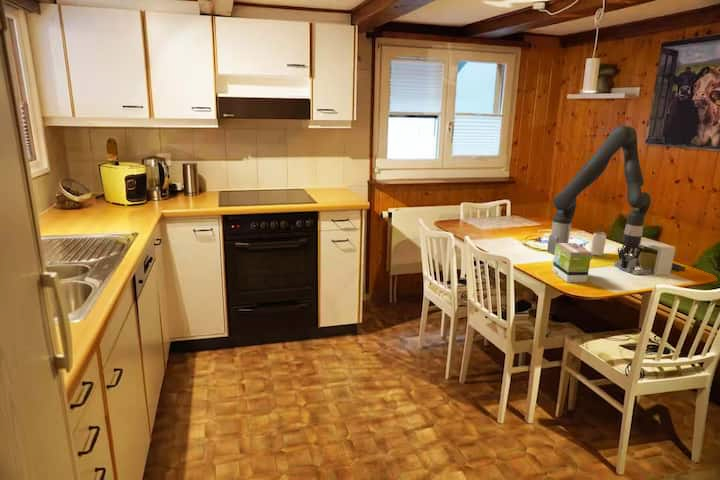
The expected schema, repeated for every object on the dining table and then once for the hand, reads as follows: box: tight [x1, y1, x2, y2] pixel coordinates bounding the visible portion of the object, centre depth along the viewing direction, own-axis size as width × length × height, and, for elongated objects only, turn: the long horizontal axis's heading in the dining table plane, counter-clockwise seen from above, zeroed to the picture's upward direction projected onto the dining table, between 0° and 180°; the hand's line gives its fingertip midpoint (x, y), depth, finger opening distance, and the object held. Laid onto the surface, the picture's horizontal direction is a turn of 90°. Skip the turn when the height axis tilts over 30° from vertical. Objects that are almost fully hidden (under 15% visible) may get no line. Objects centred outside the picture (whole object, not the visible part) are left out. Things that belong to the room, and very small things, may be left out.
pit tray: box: [671, 262, 686, 272], centre depth 248 cm, size 5×14×2 cm, turn 19°
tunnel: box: [636, 236, 676, 276], centre depth 242 cm, size 9×18×14 cm, turn 19°
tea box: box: [551, 242, 592, 284], centre depth 226 cm, size 15×10×15 cm
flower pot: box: [638, 248, 658, 269], centre depth 243 cm, size 9×9×9 cm
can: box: [589, 231, 607, 257], centre depth 264 cm, size 6×6×12 cm
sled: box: [613, 256, 673, 276], centre depth 242 cm, size 23×14×7 cm, turn 109°
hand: (626, 267), depth 239 cm, fingers closed on sled, 3 cm apart
